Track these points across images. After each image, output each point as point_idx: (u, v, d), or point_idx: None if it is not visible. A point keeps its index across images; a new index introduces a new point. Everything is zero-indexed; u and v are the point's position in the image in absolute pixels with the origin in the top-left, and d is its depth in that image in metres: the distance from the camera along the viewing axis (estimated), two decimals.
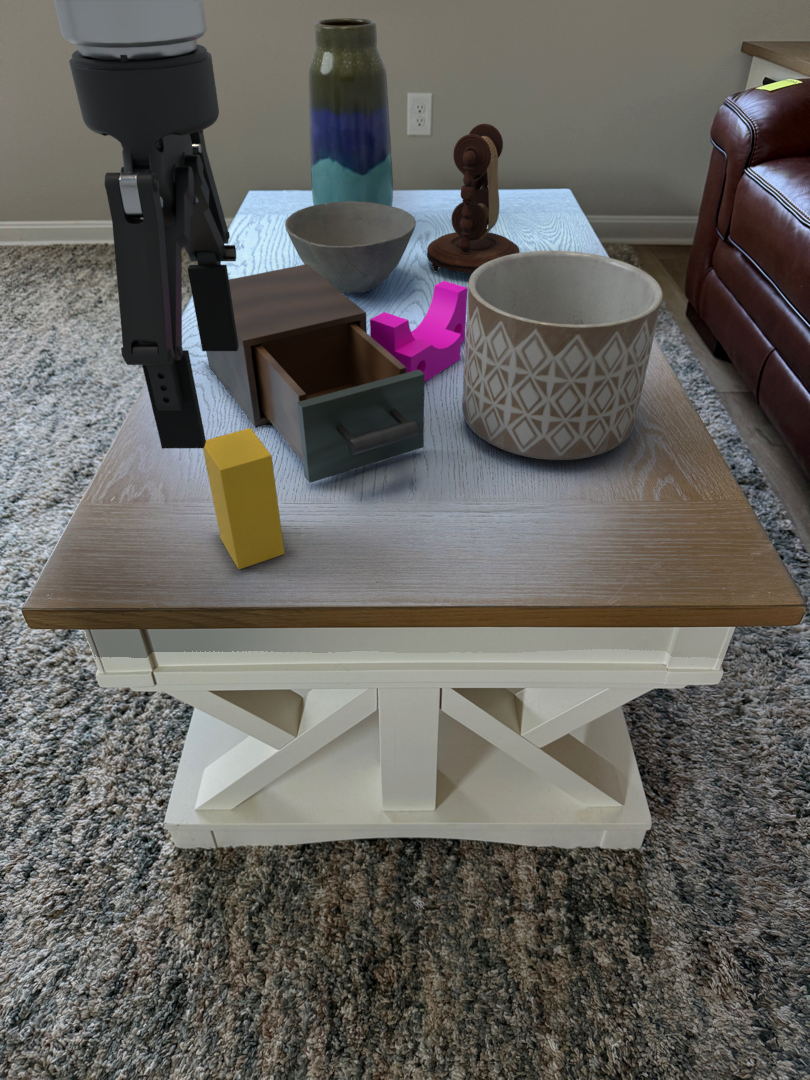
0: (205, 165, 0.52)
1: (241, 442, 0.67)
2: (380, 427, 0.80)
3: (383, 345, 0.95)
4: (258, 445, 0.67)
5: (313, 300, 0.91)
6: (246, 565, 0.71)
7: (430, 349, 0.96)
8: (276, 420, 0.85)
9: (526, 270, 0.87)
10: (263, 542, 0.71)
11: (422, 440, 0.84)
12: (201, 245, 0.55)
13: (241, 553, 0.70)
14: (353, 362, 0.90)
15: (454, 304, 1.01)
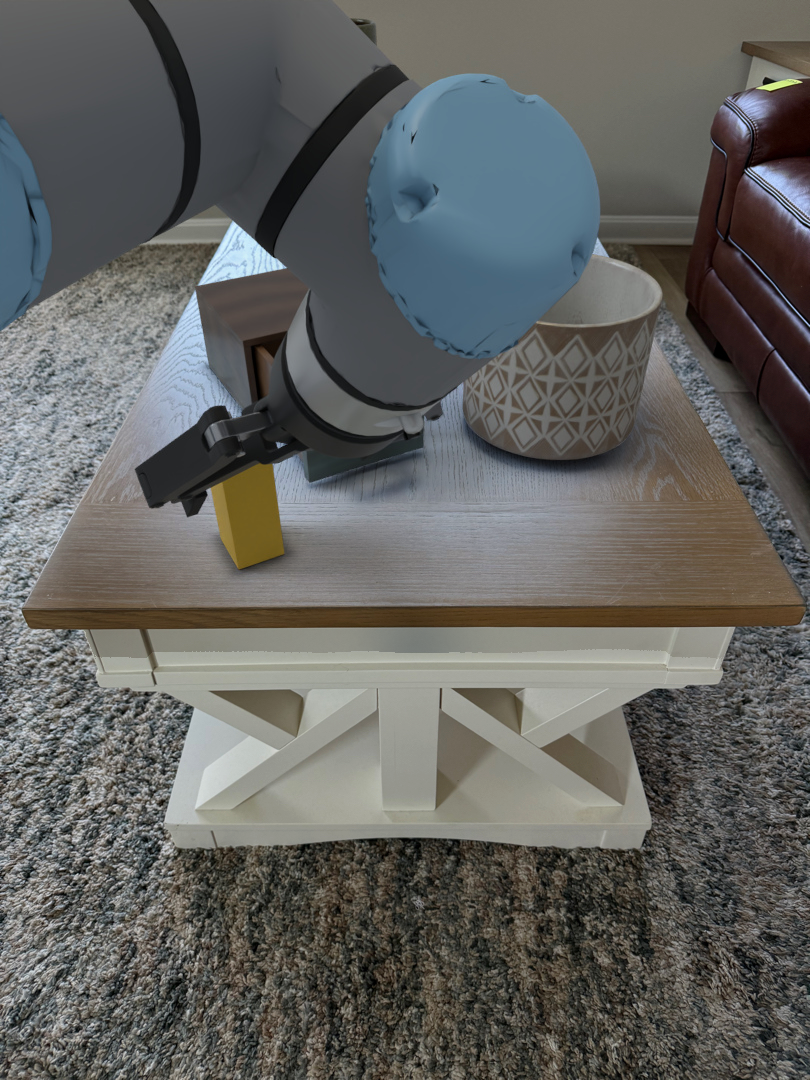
0: None
1: None
2: None
3: None
4: None
5: None
6: (246, 565, 0.71)
7: None
8: None
9: None
10: (263, 542, 0.71)
11: (422, 440, 0.84)
12: None
13: (241, 553, 0.70)
14: None
15: None
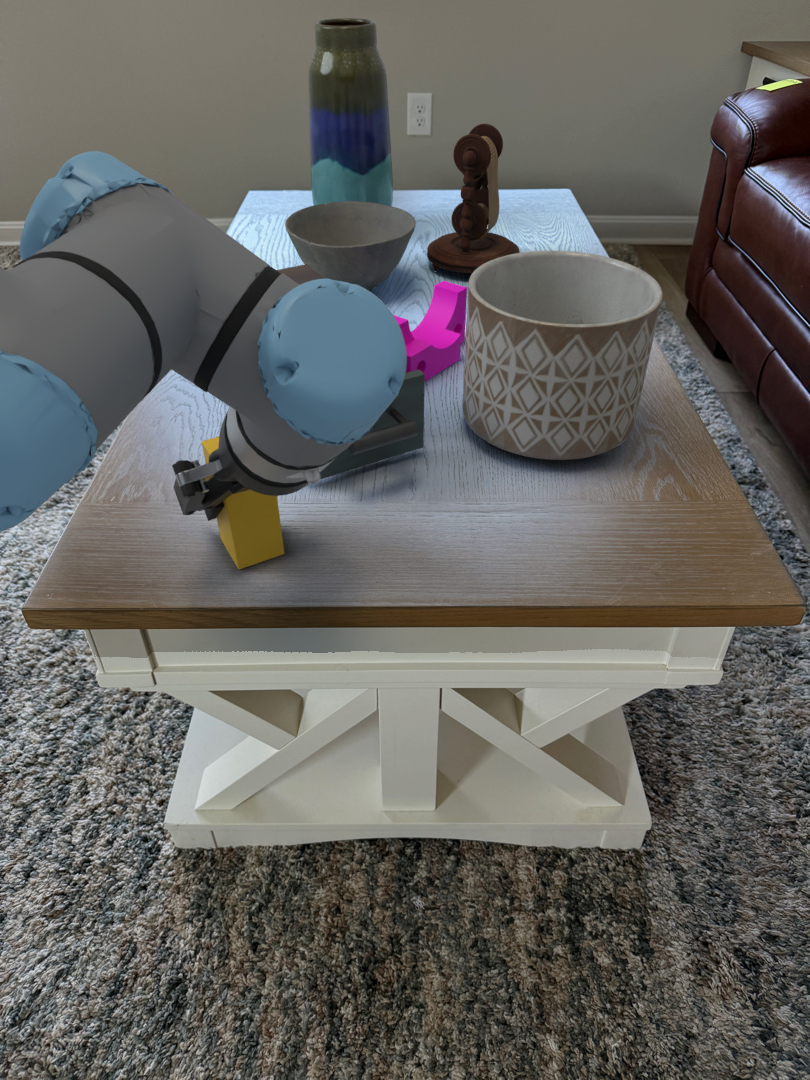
0: None
1: None
2: (380, 427, 0.80)
3: None
4: None
5: None
6: (246, 565, 0.71)
7: (430, 349, 0.96)
8: None
9: (526, 270, 0.87)
10: (263, 542, 0.71)
11: (422, 440, 0.84)
12: None
13: (241, 553, 0.70)
14: None
15: (453, 304, 1.01)
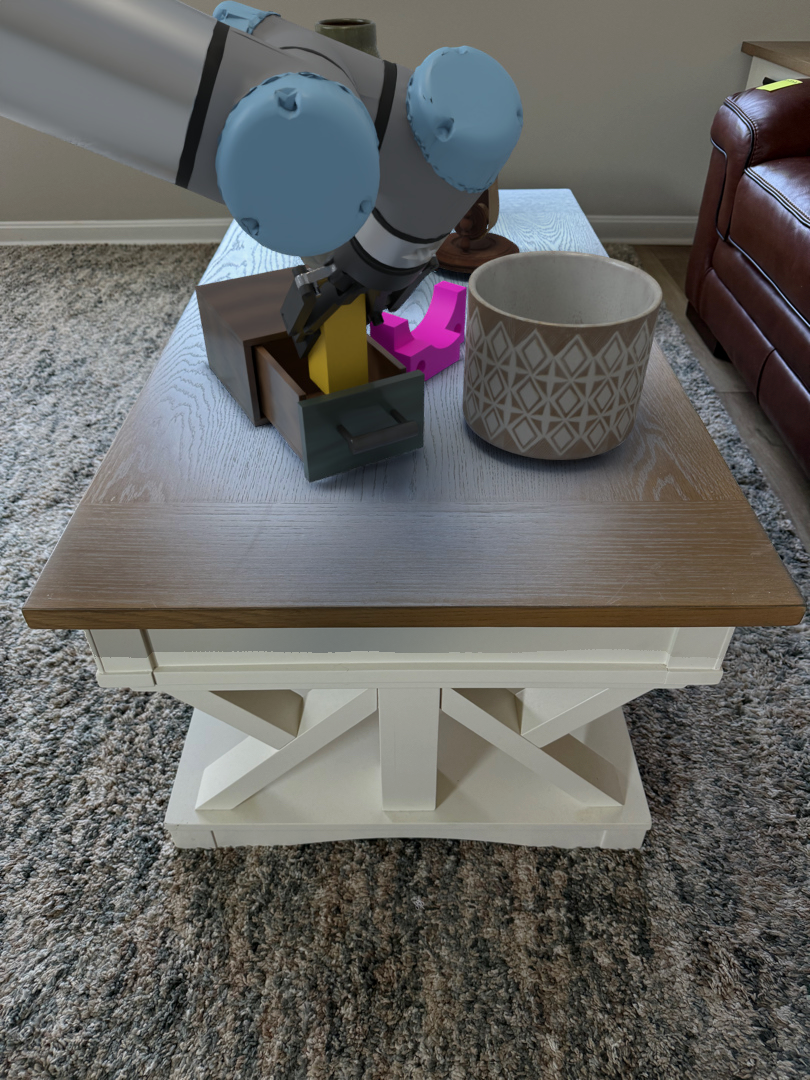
0: (414, 280, 0.71)
1: None
2: (380, 427, 0.80)
3: (383, 345, 0.95)
4: None
5: None
6: None
7: (430, 349, 0.96)
8: (276, 420, 0.85)
9: (526, 270, 0.87)
10: (352, 373, 0.79)
11: (422, 440, 0.84)
12: (368, 299, 0.75)
13: (332, 381, 0.79)
14: None
15: (453, 303, 1.01)
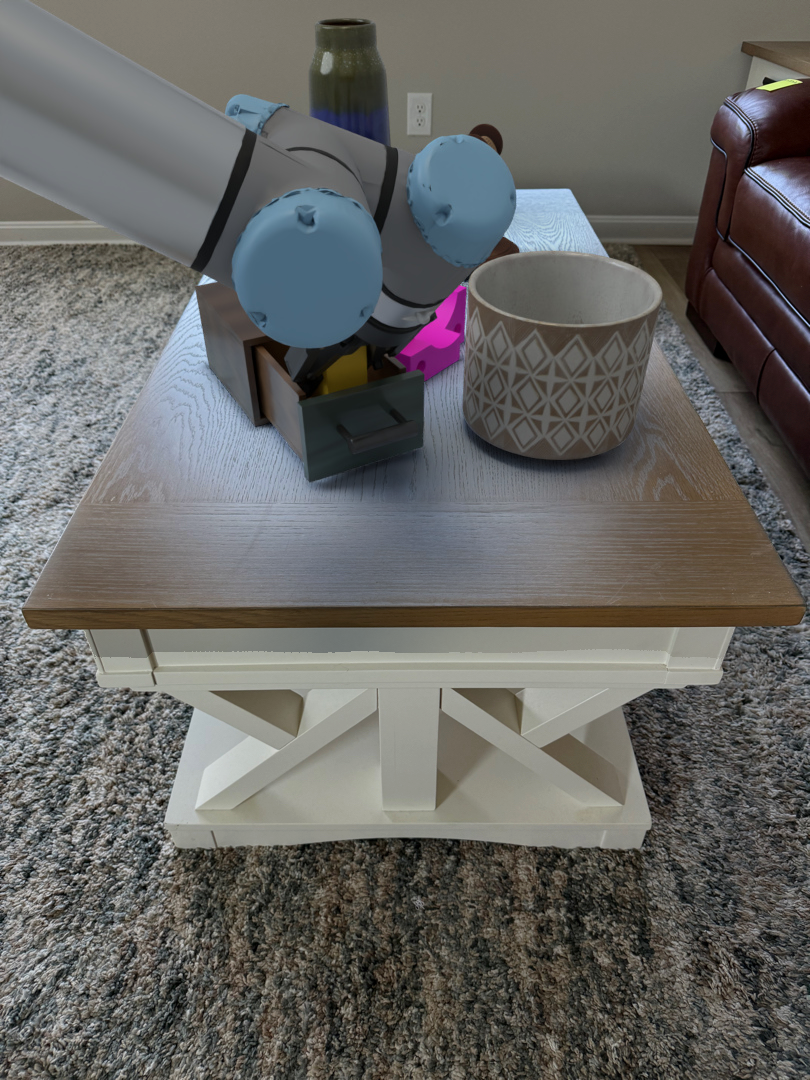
0: None
1: None
2: (380, 427, 0.80)
3: None
4: None
5: None
6: None
7: (430, 349, 0.96)
8: (276, 420, 0.86)
9: (526, 270, 0.87)
10: None
11: (422, 440, 0.84)
12: (369, 346, 0.78)
13: None
14: None
15: (453, 303, 1.01)
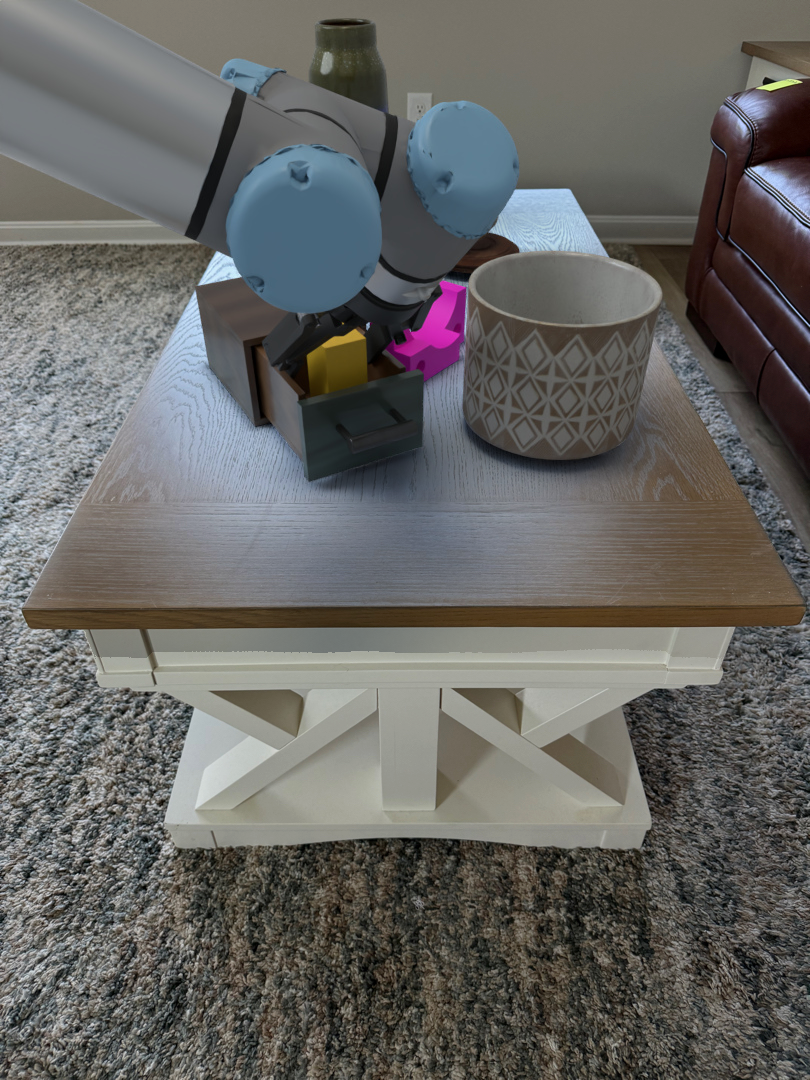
0: (422, 306, 0.73)
1: None
2: (379, 426, 0.80)
3: None
4: (353, 331, 0.79)
5: None
6: None
7: (430, 349, 0.96)
8: (276, 420, 0.86)
9: (526, 270, 0.87)
10: None
11: (421, 439, 0.84)
12: None
13: None
14: None
15: (453, 303, 1.01)
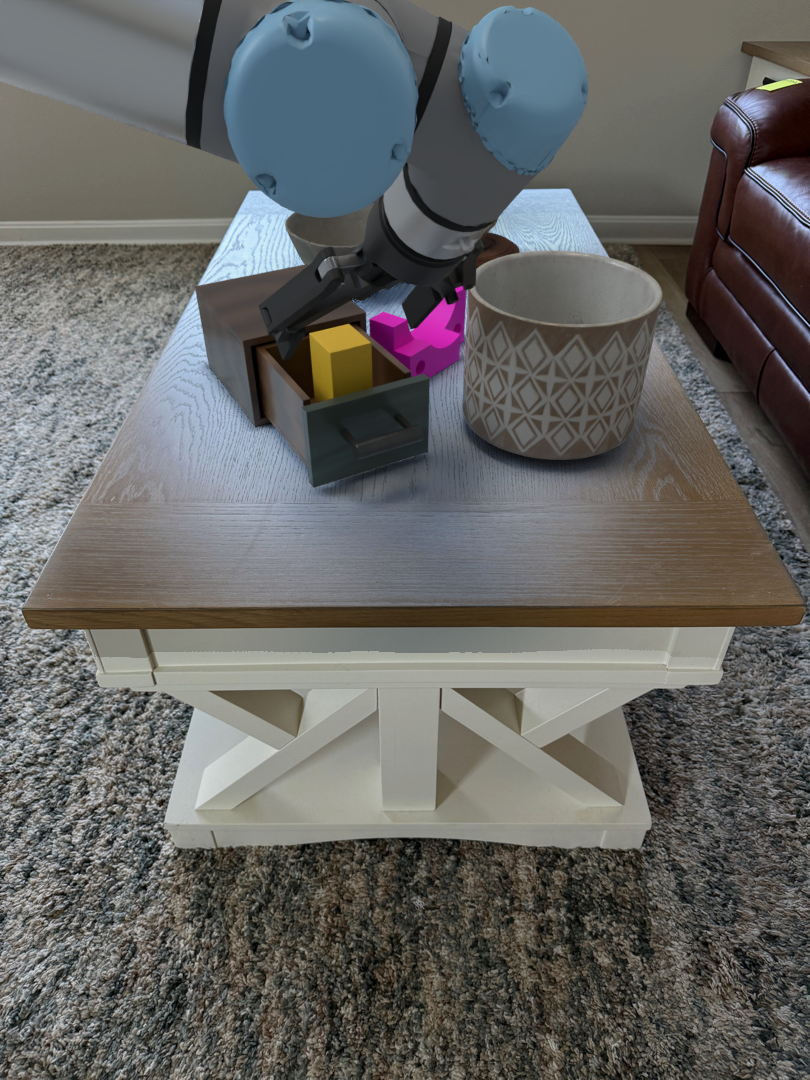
0: (464, 264, 0.65)
1: (343, 334, 0.78)
2: (385, 432, 0.79)
3: (382, 345, 0.95)
4: (358, 335, 0.78)
5: None
6: None
7: (429, 349, 0.96)
8: (280, 425, 0.85)
9: (526, 270, 0.87)
10: None
11: (427, 445, 0.83)
12: None
13: None
14: None
15: None
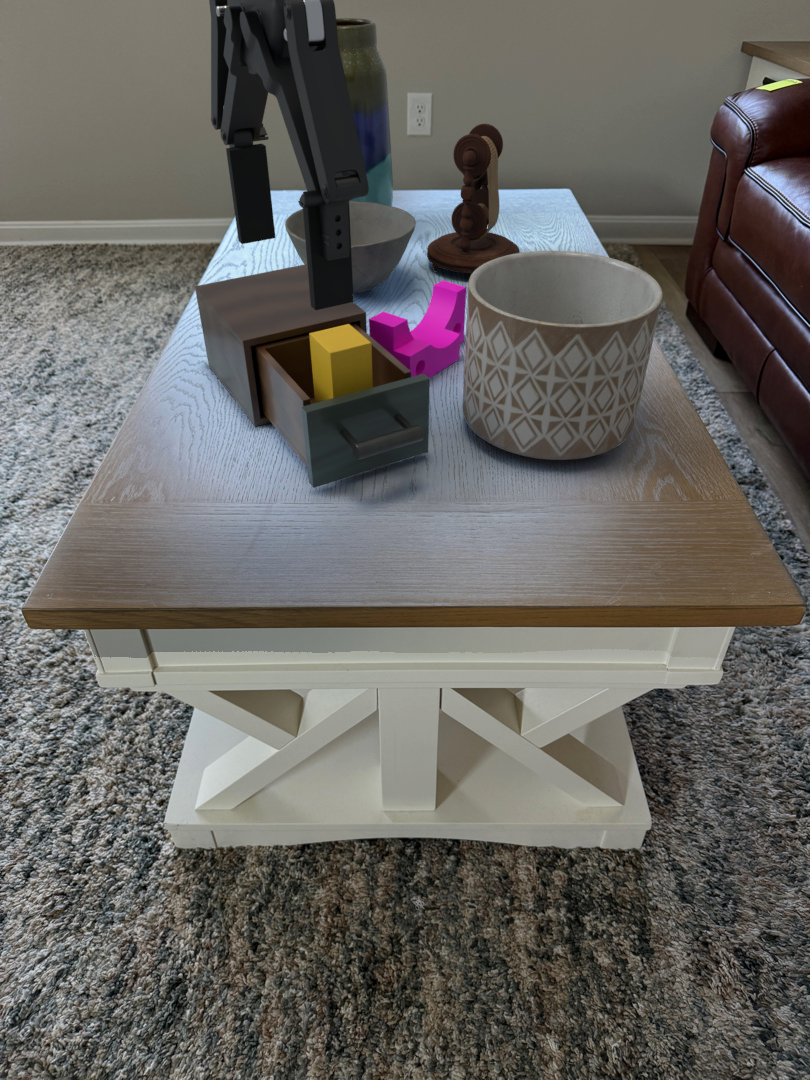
0: None
1: (343, 334, 0.78)
2: (385, 432, 0.79)
3: (382, 345, 0.95)
4: (358, 335, 0.78)
5: None
6: None
7: (429, 349, 0.96)
8: (280, 425, 0.85)
9: (526, 270, 0.87)
10: None
11: (427, 445, 0.83)
12: (247, 121, 0.54)
13: None
14: None
15: (453, 303, 1.01)
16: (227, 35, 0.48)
